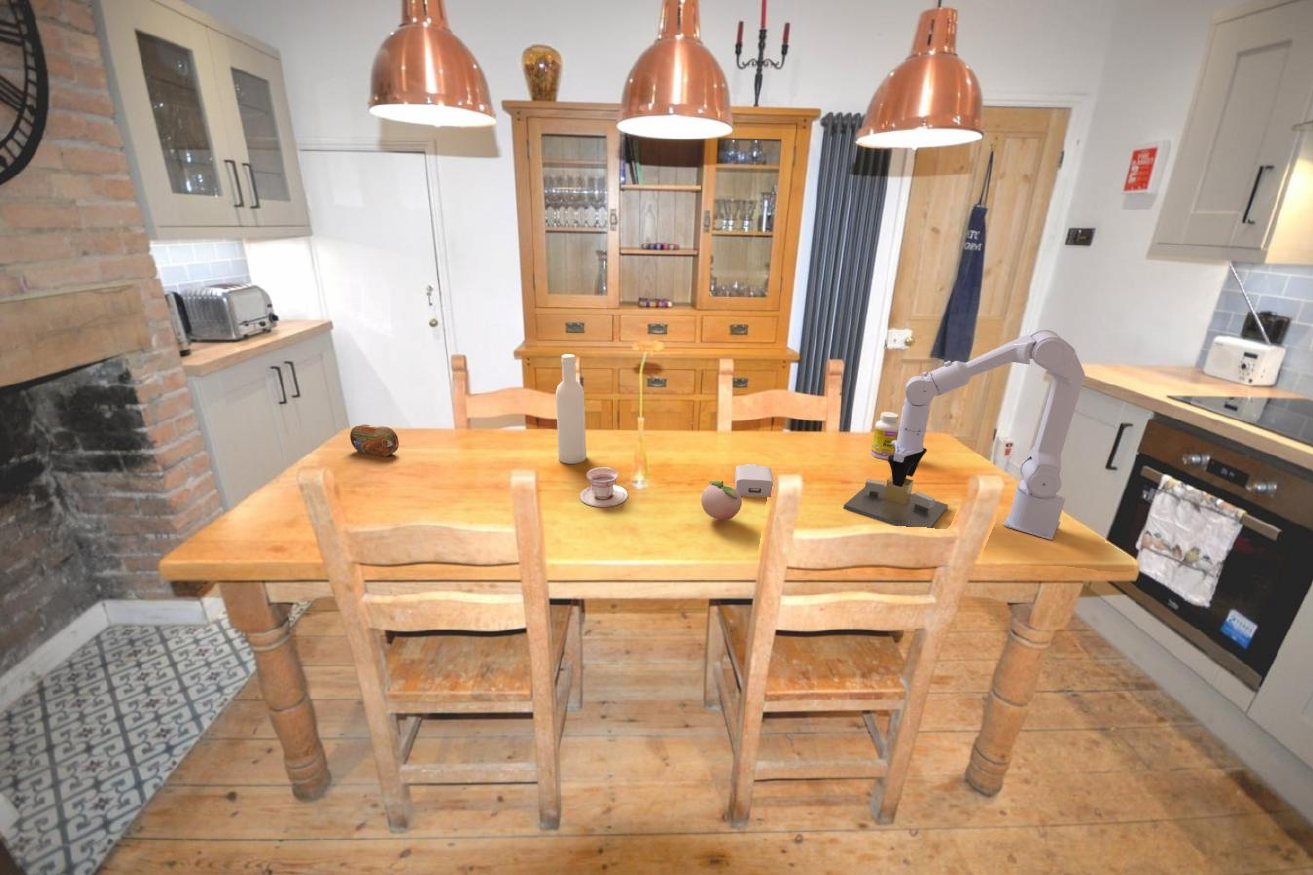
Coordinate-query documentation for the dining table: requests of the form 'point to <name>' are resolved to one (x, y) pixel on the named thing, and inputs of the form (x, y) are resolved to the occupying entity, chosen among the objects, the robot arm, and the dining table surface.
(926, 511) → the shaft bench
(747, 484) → the charger
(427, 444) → the dining table surface
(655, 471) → the dining table surface
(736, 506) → the decorative fruit
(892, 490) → the block
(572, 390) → the bottle
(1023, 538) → the dining table surface
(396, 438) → the tin
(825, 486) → the dining table surface
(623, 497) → the teacup
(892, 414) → the supplement bottle
